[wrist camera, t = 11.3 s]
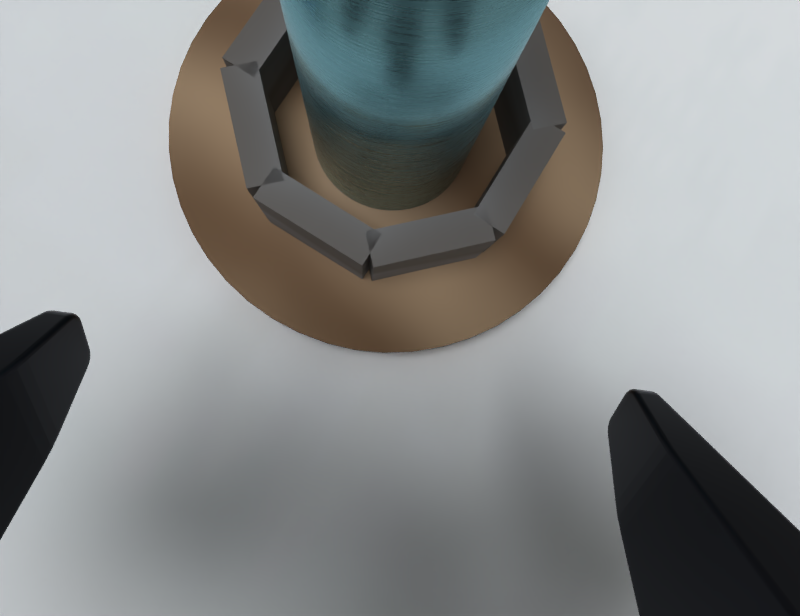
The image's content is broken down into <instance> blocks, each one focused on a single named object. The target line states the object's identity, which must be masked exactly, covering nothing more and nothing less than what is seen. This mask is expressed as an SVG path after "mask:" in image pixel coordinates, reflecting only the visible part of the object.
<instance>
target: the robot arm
mask: <svg viewBox="0 0 800 616" xmlns="http://www.w3.org/2000/svg"><path fill="white" fill-rule="evenodd" d="M89 361H90V349H89V346H88V342H87V339H86V336H85V333H84V329H83V326H82V323H81V320H80V318H79V317H78V316H77V315H76V314H73V313H67V312H60V311H46V312H44V313H42V314H40V315H38V316H36V317H34V318H31V319H29V320H27V321H25V322H23V323H21V324H19V325H17V326H15V327H13V328H11V329H9V330H7V331H5V332H3V333H1V334H0V540H1V538H2V536H3V534H4V533H5V531H6V529H7V527H8V526H9V524H10V522H11V520H12V519H13V517H14V515H15V513H16V512H17V510H18V508H19V506H20V505H21V503H22V501H23V499H24V498H25V496H26V494H27V492H28V491H29V489H30V487H31V485H32V484H33V482H34V480H35V478H36V477H37V475H38V473H39V471H40V470H41V468H42V466H43V464H44V463H45V461H46V459H47V457H48V455H49V453H50V451H51V450H52V448H53V445H54V443H55V441H56V439H57V437H58V435H59V432H60V430H61V428H62V425H63V423H64V421H65V418H66V416H67V414H68V411H69V409H70V407H71V404H72V402H73V400H74V398H75V395H76V393H77V391H78V388H79V386H80V384H81V381H82V379H83V377H84V374H85V372H86V370H87V367H88V364H89ZM608 438H609V447H610V456H611V465H612V474H613V483H614V492H615V501H616V509H617V516H618V521H619V526H620V531H621V535H622V540H623V544H624V549H625V553H626V558H627V562H628V566H629V571H630V575H631V580H632V584H633V588H634V593H635V597H636V602H637V606H638V611H639V615H640V616H800V531H799V530H798V529H797V528H796V527H795V526H794V525H793V524H792V523H791V522H790V521H789V520H788V519H787V518H786V517H785V516H784V515H783V514H782V513H781V512H780V511H779V510H778V509H776V508H775V507H774V506H773V505H772V504H771V503H770V502H769V501H768V500H767V499H766V498H765V497H764V496H763V495H762V494H761V493H760V492H759V491H758V490H757V489H756V488H755V487H754V486H753V485H752V484H751V483H749V482H748V481H747V480H746V479H745V478H744V477H743V476H742V475H741V474H740V473H739V472H738V471H737V470H736V469H735V468H734V467H733V466H732V465H731V464H730V463H729V462H728V461H727V460H726V459H725V458H724V457H723V456H721V455H720V454H719V453H718V452H717V451H716V450H715V449H714V448H713V447H712V446H711V445H710V444H709V443H708V442H707V441H706V440H705V439H704V438H703V437H702V436H701V435H700V434H699V433H698V432H697V431H696V430H694V429H693V428H692V427H691V426H690V425H689V424H688V423H687V422H686V421H685V420H684V419H683V418H682V417H681V416H680V415H679V414H678V413H677V412H676V411H675V410H674V409H673V408H672V407H671V406H670V405H669V404H667V403H666V402H665V401H664V400H663V399H662V398H661V397H660V396H659V395H658V394H656V393H655V392H652V391H644V390H637V389H632V390H629V391H628V392H627V393H626V394H625V396H624V397H623V399H622V401H621V402H620V404H619V405H618V407H617V409H616V410H615V412H614V414H613V415H612V417H611V419H610V421H609V425H608Z"/></svg>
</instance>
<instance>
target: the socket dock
mask: <svg viewBox="0 0 800 616" xmlns="http://www.w3.org/2000/svg"><path fill="white" fill-rule="evenodd" d="M602 152H603V142H602V128H601V118H600V113H599V108H598V103H597V98H596V93H595V90H594V87H593V85H592V82H591V79H590V76H589V73H588V70H587V67H586V65H585V63H584V61H583V59H582V57H581V55H580V53H579V51H578V49H577V47H576V45H575V43H574V42H573V40H572V39H571V37H570V36H569V34H568V33H567V31H566V29H565V28H564V26H563V25H562V23H561V22H560V21H559V19H558V18H557V17H556V16H555V15H554V14H553V12H552V11H551V10H550V9H549V8H548V7H547V6H546V7H545V9H544V11H543V13H542V15H541V17H540V19H539V21H538V23H537V25H536V27H535V28H534V30H533V32H532V34H531V36H530V38H529V40H528V42H527V44H526V46H525V48H524V49H523V51H522V53H521V55H520V57H519V59H518V61H517V63H516V65H515V67H514V69H513V70H512V72H511V74H510V76H509V78H508V80H507V82H506V84H505V86H504V88H503V90H502V91H501V93H500V95H499V97H498V99H497V101H496V103H495V105H494V107H493V109H492V111H491V112H490V114H489V116H488V118H487V120H486V122H485V124H484V126H483V128H482V130H481V131H480V133H479V135H478V137H477V139H476V141H475V143H474V145H473V147H472V149H471V151H470V152H469V154H468V156H467V158H466V160H465V162H464V164H463V166H462V168H461V170H460V171H459V173H458V175H457V177H456V178H455V179H454V181H453V182H452V184H451V185H450V186H449V187H448V188H447V189H446V190H445V191H444V192H443V193H441V194H440V195H439V196H438V197H436V198H434V199H433V200H431V201H429V202H428V203H425V204H423V205H421V206H418V207H414V208H411V209H405V210H392V211H389V210H380V209H375V208H371V207H368V206H365V205H362V204H360V203H358V202H356V201H354V200H352V199H350V198H349V197H347V196H346V195H345V194H343V193H342V192H341V191H340V190H339V189H337V188H336V187H335V186H334V185H333V183H332V182H331V181H330V180H329V179H328V177H327V176H326V174H325V173H324V171H323V169H322V167H321V165H320V163H319V161H318V158H317V155H316V151H315V148H314V143H313V139H312V135H311V131H310V126H309V122H308V118H307V114H306V109H305V105H304V101H303V97H302V92H301V88H300V84H299V80H298V76H297V71H296V67H295V63H294V59H293V54H292V50H291V46H290V42H289V37H288V33H287V29H286V25H285V20H284V16H283V12H282V8H281V3H280V0H222V1H221V2H220V3H219V4H218V5H217V7H216V8H215V9H214V10H213V11H212V13H211V14H210V15H209V16H208V18H207V19H206V20H205V22H204V24H203V25H202V27H201V28H200V30H199V32H198V33H197V35H196V36H195V38H194V40H193V41H192V43H191V45H190V48H189V50H188V52H187V54H186V57H185V59H184V61H183V63H182V66H181V68H180V72H179V75H178V79H177V82H176V86H175V89H174V93H173V98H172V105H171V112H170V119H169V153H170V161H171V168H172V175H173V180H174V184H175V187H176V191H177V195H178V198H179V202H180V205H181V208H182V210H183V212H184V215H185V217H186V219H187V222H188V224H189V226H190V228H191V231H192V233H193V235H194V236H195V238H196V240H197V241H198V243H199V244H200V246H201V248H202V249H203V251H204V253H205V254H206V256H207V258H208V259H209V260H210V261H211V263H212V264H213V265H214V266H215V267H216V269H217V270H218V271H219V272H220V274H221V275H222V276H223V277H224V278H225V280H226V281H227V282H228V283H229V284H230V285H231V286H232V287H234V288H235V289H236V290H237V291H238V292H239V293H240V294H241V295H242V296H243V297H244V298H245V299H246V300H247V301H249V302H250V303H251V304H253V305H254V306H256V307H257V308H258V309H260V310H261V311H263V312H264V313H265V314H267V315H268V316H270V317H271V318H272V319H274V320H276V321H278V322H280V323H282V324H284V325H286V326H287V327H289V328H291V329H293V330H295V331H297V332H299V333H301V334H304V335H307V336H309V337H312V338H315V339H318V340H320V341H323V342H326V343H328V344H332V345H336V346H341V347H345V348H349V349H354V350H361V351H372V352H382V353H387V352H412V351H419V350H425V349H431V348H436V347H442V346H446V345H449V344H452V343H455V342H459V341H462V340H465V339H468V338H471V337H473V336H476V335H478V334H480V333H482V332H484V331H486V330H489V329H491V328H493V327H495V326H497V325H498V324H500V323H502V322H503V321H505V320H506V319H508V318H509V317H511V316H513V315H514V314H516V313H517V312H519V311H520V310H522V309H523V308H524V307H525V306H526V305H527V304H529V303H530V302H531V301H532V300H533V299H535V298H536V297H537V296H538V295H539V294H540V293H542V291H543V290H544V289H545V288H546V287H547V286H548V285H549V284H550V283H551V281H552V280H553V279H554V278H555V277H556V276H557V275H558V274H559V273H560V271H561V270H562V268H563V267H564V265H565V264H566V262H567V261H568V259H569V258H570V257H571V255H572V254H573V252H574V251H575V249H576V247H577V245H578V243H579V241H580V239H581V237H582V235H583V233H584V231H585V229H586V227H587V225H588V222H589V219H590V216H591V213H592V210H593V207H594V204H595V201H596V197H597V192H598V187H599V182H600V177H601V169H602Z"/></svg>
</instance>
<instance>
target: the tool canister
mask: <svg viewBox="0 0 800 616" xmlns="http://www.w3.org/2000/svg"><path fill="white" fill-rule="evenodd" d="M548 2H549V0H280V3H281V8H282V12H283V16H284V20H285V25H286V29H287V33H288V37H289V42H290V46H291V50H292V54H293V59H294V63H295V67H296V71H297V76H298V80H299V84H300V88H301V92H302V97H303V101H304V105H305V109H306V114H307V118H308V122H309V126H310V131H311V135H312V139H313V143H314V148H315V151H316V155H317V158H318V161H319V163H320V165H321V167H322V169H323V171H324V173H325V174H326V176H327V177H328V179H329V180H330V181H331V182H332V183H333V185H334V186H335V187H336V188H337V189H339V190H340V191H341V192H342V193H343V194H345V195H346V196H347V197H349V198H350V199H352V200H354V201H356V202H358V203H360V204H362V205H365V206H368V207H371V208H375V209H380V210H389V211H392V210H405V209H411V208H414V207H418V206H421V205H423V204H425V203H428V202H429V201H431V200H433V199H434V198H436V197H438V196H439V195H440V194H441V193H443V192H444V191H445V190H446V189H447V188H448V187H449V186H450V185H451V184H452V182H453V181H454V179H455V178H456V177H457V175H458V173H459V171H460V170H461V168H462V166H463V164H464V162H465V160H466V158H467V156H468V154H469V152H470V151H471V149H472V147H473V145H474V143H475V141H476V139H477V137H478V135H479V133H480V131H481V130H482V128H483V126H484V124H485V122H486V120H487V118H488V116H489V114H490V112H491V111H492V109H493V107H494V105H495V103H496V101H497V99H498V97H499V95H500V93H501V91H502V90H503V88H504V86H505V84H506V82H507V80H508V78H509V76H510V74H511V72H512V70H513V69H514V67H515V65H516V63H517V61H518V59H519V57H520V55H521V53H522V51H523V49H524V48H525V46H526V44H527V42H528V40H529V38H530V36H531V34H532V32H533V30H534V28H535V27H536V25H537V23H538V21H539V19H540V17H541V15H542V13H543V11H544V9H545V7H546V6H547V4H548Z"/></svg>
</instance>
